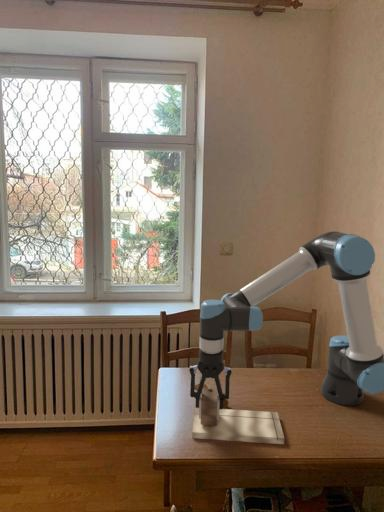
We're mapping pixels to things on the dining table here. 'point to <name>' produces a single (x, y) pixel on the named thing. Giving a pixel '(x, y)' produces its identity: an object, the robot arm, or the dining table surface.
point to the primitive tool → (225, 401)
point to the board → (241, 427)
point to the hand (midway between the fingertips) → (208, 416)
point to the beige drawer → (209, 406)
